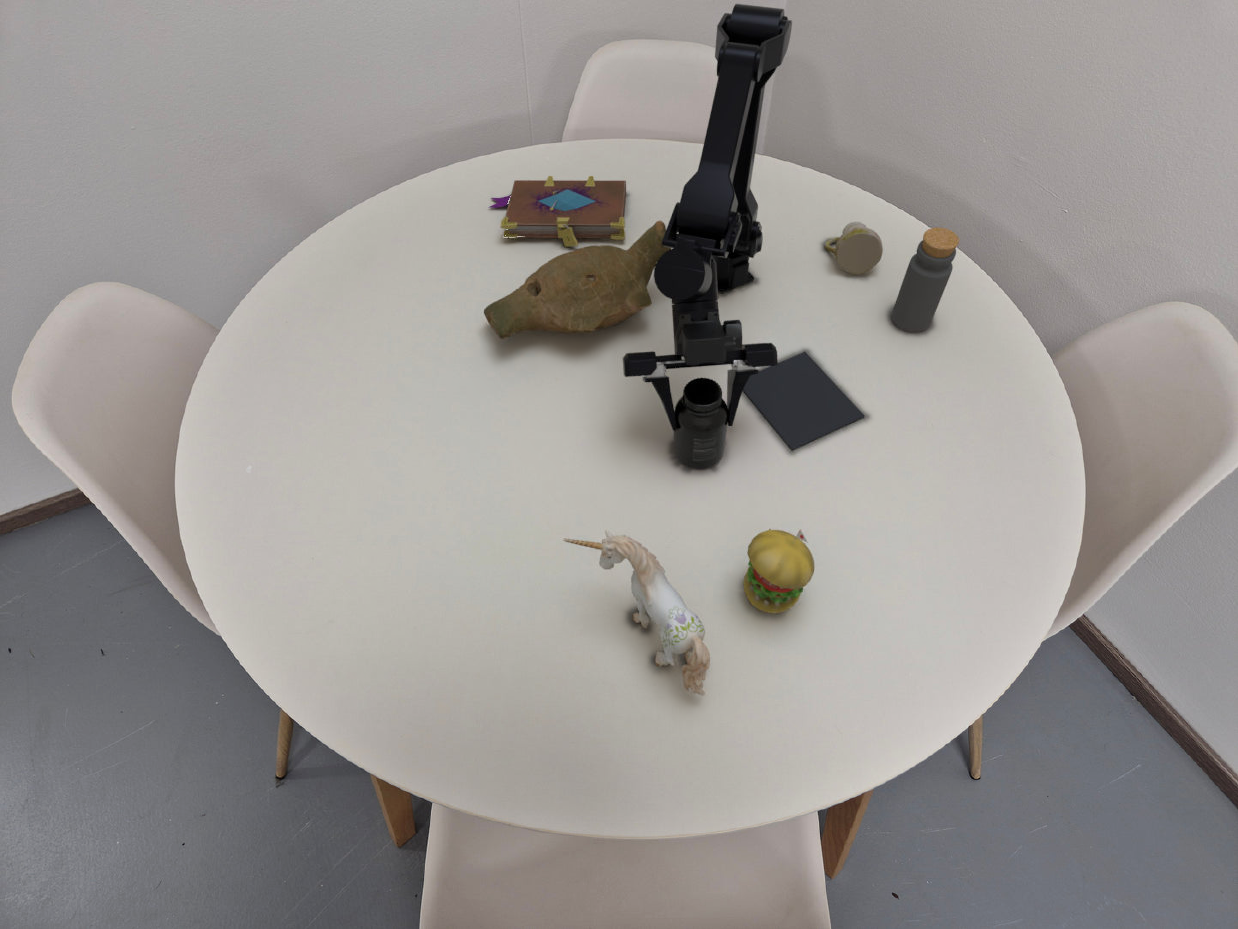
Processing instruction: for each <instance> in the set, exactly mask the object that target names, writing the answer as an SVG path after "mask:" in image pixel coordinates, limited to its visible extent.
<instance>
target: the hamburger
mask: <svg viewBox="0 0 1238 929" xmlns="http://www.w3.org/2000/svg"><path fill="white" fill-rule="evenodd" d="M798 530H799V531H798V533H797V534H796V535H794V534H792V533H790V532H787V531H785V530H780V529H771V528H769V529H767V530H765V531H761V532H760V533H758V534H756V535H755V536H754V537H753V538H752V539H751V542H750V543H749V544H748V546H747V557H748V560H749V561H748V563H747V566H749V567H748V568H747V570H746V572H745V575H744V579H743V582H742V583H743V591H744V593H745V595H746V598H747V599H748V601H749V603H750V605H752V607H755V608H756V609H757V610H759V611H762V612H764V613H769V614H776V613H777V614H779V613H783V612H785V611H787V610H790V609H791V608H792V607H795V605H796V603H797V602H798V601H799V600H800V597H801V594H803V592H804V587H806V586H807V585H808V583H809V582H811V580H812V578H813V576H814V574H815V573H814V572H815V559H814V556H813V554H812V551H811V550H810V549H809V547H808V545H807V544H809V542H808V540H807V538H806V537H805V535H804V532H803V531H802V529H801V528H800V529H798Z"/></svg>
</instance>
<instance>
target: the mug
mask: <svg viewBox="0 0 1238 929" xmlns="http://www.w3.org/2000/svg"><path fill="white" fill-rule="evenodd" d="M835 243H836V244H835ZM831 244H835V247H834V246H831ZM824 246H825V249H826V250H827V251H829V252H831V253H832V254H833V256H834V257H835V260H836V262H837V264H838V266H839V268H840V269H841V270H843V271H845V272H847V273H849V274H851V275H861V274H865V273H867V272H869V271H871V270H872V269H873V268H875V267H876V266H877V265H878V263H880V261H881V259H882V256H883V251H884V248H883V247H884V246H883V241H882V239H881V237H880V236H879V234H878V232H876V231H875V230H874V229H871V228H870V227H867V226H866V224H865V223H862V222H860V221H852V222H848V224H845V226H844V227H843V229H842V234H841V235H840V236H834V237H832V238H829V239H828V240H827V241H826V242H825V243H824Z"/></svg>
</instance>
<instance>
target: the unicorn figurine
mask: <svg viewBox="0 0 1238 929" xmlns="http://www.w3.org/2000/svg"><path fill="white" fill-rule="evenodd" d="M604 533H605V537H606V538H603V539H602V540H601V543H600V542H595V541H588V540H579V539H574V538H573V539H571V538H563V539H562V540H563V542H565V543H568V544H573V545H577V546H581V547H585V548H590V549H595V550H600V551H601V553H600V556H599V560H598V564H599V567H601V568H602V569H603V570H611V569H613V568H615V564H617V565H618V564H621V563H622V562H623V561H624V560H627V561H628V562H629V563H630V565H631V567H632V569H633V571H632V574H631V576H630V587H631V588H630V590H631V594H632V596H633V597H634V598H635V601H636V607H637V610H638V612H634V613H633V615H632V619H633V621H634V623H636V624H639V623H641V626H642V628H644V629H648V626H649V623H650V620H652V621H653V622H654V623H655V624H656V625H657V626H658V627H660V633H659V637H660V642H661V643H662V645H663V651H661V650H658V651H657V652H656V655H655V660H654V663H655V665H656V666H657V667H662V666H668V665H671V666H672V667H675V666H676V664H677V663H676V654H679V655H680V654H683V657H684V660H685V662H686V664H683V665H682V667H681V671H682V678H683V688H684V689H685V691H686V692H689V691H690V689H691V691H692V693H694V694H698V695H699V696H702V697H703V696H705V695H706V691H704V690H703V687H704V683H703V681H705V680H706V677H707V676H706V673H707V671H708V669H709V668H710V661H711V655H710V650H709V648H708V647H707V645H706V644H705V643H704V642H703V641H704V638H705V634H706V632H705V631H706V630H705V626H704V624H703V622H702V620H701V619H700V618H699V616H698V615H697V614H696V613H695V612H694V611H692V610H691V609H689V608H688V607H687V605H686V603H685V601H684V599H683V597H682V596H681V595H680V593H679V592H678V591H677V590H676V588H675V587H674V586H673V585H672V584H671V583H670V582H669V580H668V577H667V576H666V575H665V573H666V570H665V569H664V567H663V566H662V565H661V564H660V561H659V560H658V559H657V556H656V555H655V554H654V553H653V552H651V551H649V549H648V548H647V547H646V546H644V545H642V543H641V542H639V541H637V540H634V539H633V538H632V537H629V536H627V535H626V534H621V535H613V534H612V533H611V532H610V531H609V530H607V529H606V530H605V532H604ZM690 650H691V651H690Z"/></svg>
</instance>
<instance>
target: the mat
mask: <svg viewBox="0 0 1238 929" xmlns="http://www.w3.org/2000/svg"><path fill="white" fill-rule="evenodd" d="M742 393H744V395H745V396H746V397H747V398H748V399H749V400H750V401H751V403H752V404H753V406H755V408H756V409H757V410H758V412H760V414H761V415H762V416H763V417H764V419H765V420H766V421H767V423H769V425H770V426H771V427H772V428H773V430H774V431H775V432H776V433H777V434H778V436H779V437H780V438H781V439H782V441H784V443H785V444H786V445H787V446H788V448H789V449H790V450H791V451H794V450H795V451H796V450H798V449H799V448H801V447H803V446H805V445H807V444H810V443H811V442H815V441H816V440H819V439H821V438H823V437H825V436H827V435H829V434H832V433H834V432H836V431H838V430H840V429H842V428H844V427H847V426H849V425H851V424H853V423H855V422H857V421H859V420H862V419H864V418H865V414H864V413H863V411H861V410H860V409H859V408H858V407H857V406H856V404H855V403H853V401H852V400H851V399H850V398H849V397H848V396H847V395H846V394H845V393H844V391H842V390H841V389H840V388H839V386H838V385H837V384H836V383H835V382H834V381H833V380H832V379H831V378H830V377H829V375H828V374H827V373H826V372H825V371H824V370H823V368H821V367H820V366H819V364H818V363H817V362H816V361H815V360H814V359H813V358H812V357H811V356H810V355H809V354H808V353H807V352H806V351H803V352H801V353H799V354H796V355H794V356H792V357H791V356H790V357H789V358H786V359H784V360H781V361H780V362H778V365H775V366H767V367H765V368H763V369H761V370H759V371H758V374H753V375H751V376H750V378H749V379H748V381H747V383H746V384H745V387H744V389H743V392H742Z"/></svg>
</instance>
